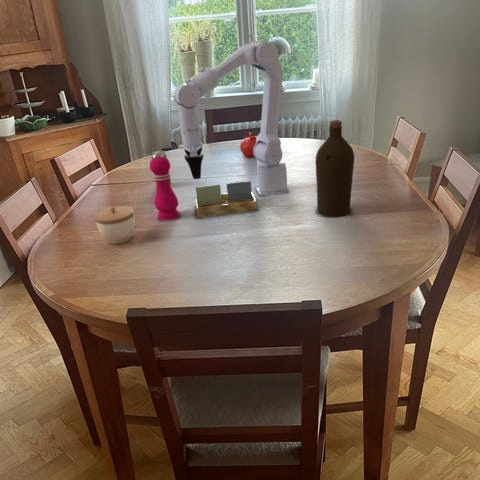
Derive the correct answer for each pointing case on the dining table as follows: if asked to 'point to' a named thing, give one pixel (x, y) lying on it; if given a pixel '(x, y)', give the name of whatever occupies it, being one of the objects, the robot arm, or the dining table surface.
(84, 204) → the dining table surface
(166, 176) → the pepper mill
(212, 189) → the sage coaster
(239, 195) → the blue coaster
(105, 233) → the trinket box
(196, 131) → the robot arm
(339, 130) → the olive oil
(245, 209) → the coaster basket
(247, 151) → the pomegranate
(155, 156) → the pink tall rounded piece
